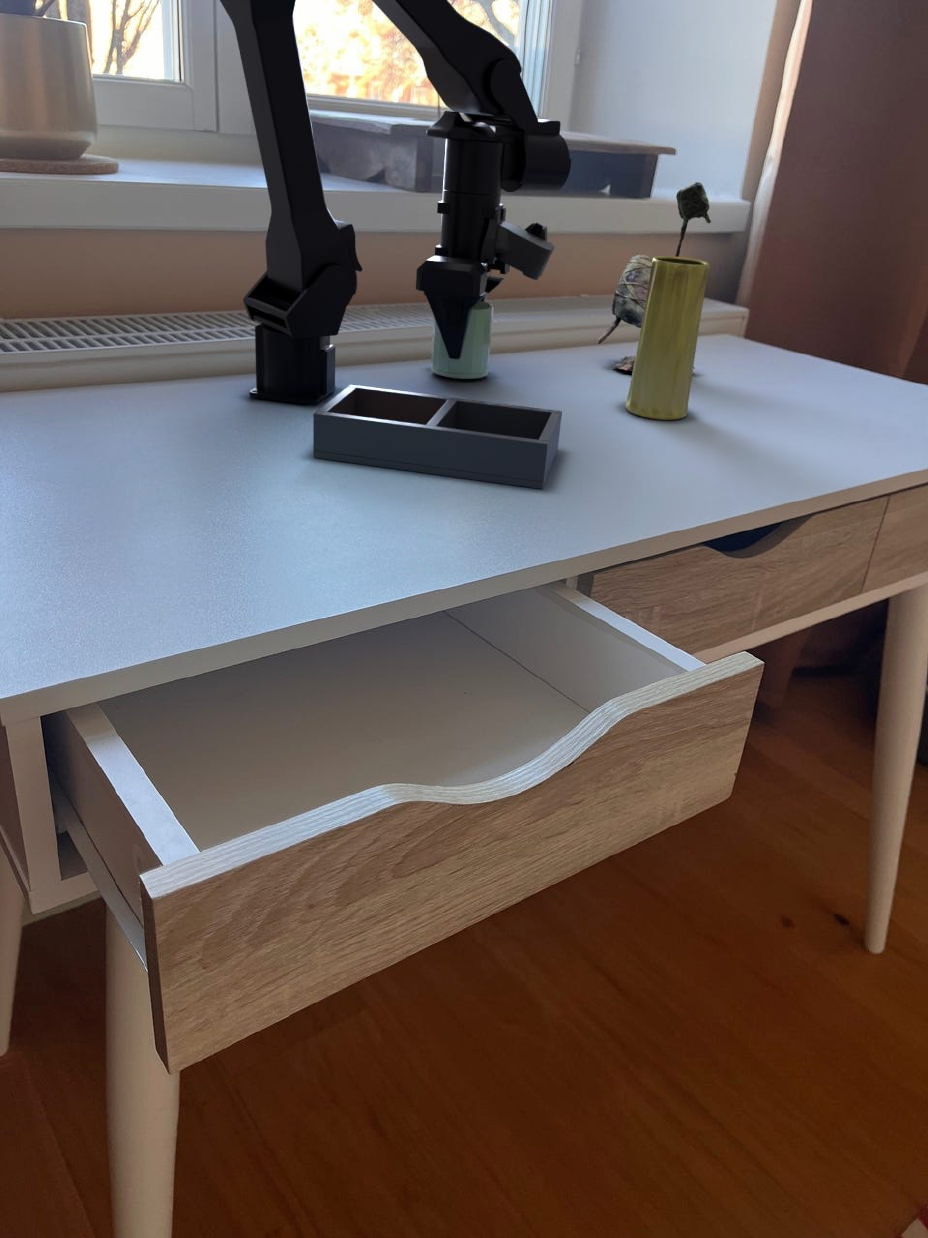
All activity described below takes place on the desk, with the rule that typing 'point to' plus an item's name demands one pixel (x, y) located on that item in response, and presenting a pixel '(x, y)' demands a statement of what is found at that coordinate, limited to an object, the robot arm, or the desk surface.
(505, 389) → the desk surface
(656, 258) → the vase
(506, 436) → the holder
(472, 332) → the cup
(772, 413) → the desk surface
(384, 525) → the desk surface
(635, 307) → the plant with pod
